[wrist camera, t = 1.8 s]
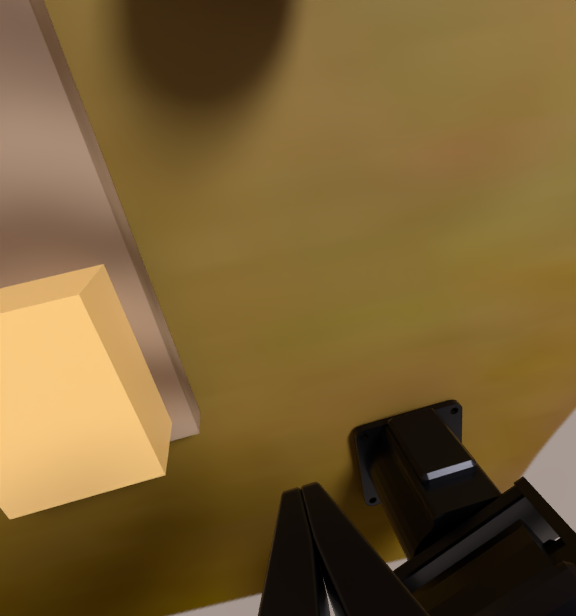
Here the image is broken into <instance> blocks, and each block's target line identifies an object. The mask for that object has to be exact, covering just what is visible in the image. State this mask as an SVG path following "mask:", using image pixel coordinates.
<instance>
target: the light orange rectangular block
mask: <svg viewBox="0 0 576 616" xmlns="http://www.w3.org/2000/svg"><path fill="white" fill-rule="evenodd" d="M171 429H172V422H171V419H170V417H169V415H168V412H167V410H166V408H165V405H164V403H163V401H162V399H161V396H160V394H159V392H158V389H157V387H156V385H155V382H154V380H153V378H152V375H151V373H150V371H149V368H148V366H147V364H146V361H145V359H144V357H143V354H142V352H141V350H140V347H139V345H138V343H137V340H136V338H135V336H134V333H133V331H132V329H131V327H130V324H129V322H128V320H127V317H126V315H125V313H124V310H123V308H122V306H121V303H120V301H119V299H118V296H117V294H116V292H115V289H114V287H113V285H112V282H111V280H110V278H109V275H108V273H107V271H106V268H105V266H104V264H102V265H98V266H93V267H89V268H85V269H81V270H76V271H72V272H68V273H64V274H59V275H55V276H51V277H47V278H42V279H38V280H34V281H30V282H26V283H21V284H17V285H13V286H9V287H4V288H0V508H1V509H2V510H3V512H4V513H5V514H6V515H7V516H8V518H9V519H13V518H17V517H20V516H24V515H27V514H31V513H34V512H38V511H41V510H45V509H48V508H52V507H55V506H59V505H62V504H66V503H69V502H73V501H76V500H80V499H83V498H87V497H90V496H94V495H97V494H101V493H104V492H108V491H111V490H115V489H118V488H122V487H125V486H129V485H132V484H136V483H139V482H143V481H146V480H150V479H153V478H157V477H160V476H164V475H166V467H167V460H168V452H169V444H170V437H171Z"/></svg>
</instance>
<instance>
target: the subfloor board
mask: <svg viewBox="0 0 576 616" xmlns="http://www.w3.org/2000/svg"><path fill="white" fill-rule="evenodd" d="M102 264H104V266H105V268H106V271H107V273H108V275H109V278H110V280H111V282H112V285H113V287H114V289H115V292H116V294H117V296H118V299H119V301H120V303H121V306H122V308H123V310H124V313H125V315H126V317H127V320H128V322H129V324H130V327H131V329H132V331H133V333H134V336H135V338H136V340H137V343H138V345H139V347H140V350H141V352H142V354H143V357H144V359H145V361H146V364H147V366H148V368H149V371H150V373H151V375H152V378H153V380H154V382H155V385H156V387H157V389H158V392H159V394H160V396H161V399H162V401H163V403H164V405H165V408H166V410H167V412H168V415H169V417H170V419H171V422H172V429H171V437H170V441H173V440H177V439H181V438H184V437H188V436H191V435H195V434H199V433H200V411H199V408H198V405H197V403H196V400H195V398H194V395H193V392H192V390H191V387H190V384H189V382H188V379H187V377H186V374H185V371H184V369H183V366H182V363H181V361H180V358H179V356H178V353H177V350H176V348H175V345H174V342H173V340H172V337H171V335H170V332H169V329H168V327H167V324H166V321H165V319H164V316H163V314H162V311H161V308H160V306H159V303H158V300H157V298H156V295H155V293H154V290H153V287H152V285H151V282H150V279H149V277H148V274H147V271H146V269H145V266H144V264H143V261H142V258H141V256H140V253H139V250H138V248H137V245H136V243H135V240H134V237H133V235H132V232H131V229H130V227H129V224H128V222H127V219H126V216H125V214H124V211H123V208H122V206H121V203H120V201H119V198H118V195H117V193H116V190H115V187H114V185H113V182H112V180H111V177H110V174H109V172H108V169H107V166H106V164H105V161H104V159H103V156H102V153H101V151H100V148H99V145H98V143H97V140H96V138H95V135H94V132H93V130H92V127H91V124H90V122H89V119H88V117H87V114H86V111H85V109H84V106H83V103H82V101H81V98H80V95H79V93H78V90H77V88H76V85H75V82H74V80H73V77H72V74H71V72H70V69H69V67H68V64H67V61H66V59H65V56H64V53H63V51H62V48H61V46H60V43H59V40H58V38H57V35H56V32H55V30H54V27H53V25H52V22H51V19H50V17H49V14H48V11H47V9H46V6H45V4H44V1H43V0H0V288H4V287H9V286H13V285H17V284H21V283H26V282H30V281H34V280H38V279H42V278H47V277H51V276H55V275H59V274H64V273H68V272H72V271H76V270H81V269H85V268H89V267H93V266H98V265H102Z"/></svg>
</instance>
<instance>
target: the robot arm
mask: <svg viewBox="0 0 576 616" xmlns="http://www.w3.org/2000/svg"><path fill="white" fill-rule="evenodd" d="M452 408H453V409H452ZM362 434H364V435H362ZM354 440H355V446H356V453H357V460H358V466H359V473H360V480H361V486H362V493H363V498H364V500H365V503H366V505H368V506H374V505H377V504H380V503H381V504H382V506H383V508H384V510H385V512H386V515H387V517H388V519H389V521H390V523H391V525H392V528H393V530H394V532H395V534H396V536H397V538H398V541H399V543H400V545H401V547H402V549H403V551H404V554H405V556H406V558H407V560H408V561H407V562H405V563H404V564H402V565H401V566H400V567H398V568H397V569H395V570H394V571H392V570H391V569H390V568H389V566H388V565H387V564H386V563H385V562H384V560H383V559H382V558H381V557H380V556H379V554H378V553H377V552H376V551H375V550H374V548H373V547H372V546H371V545H370V544H369V542H368V541H367V540H366V539H365V538H364V536H363V535H362V534H361V533H360V532H359V530H358V529H357V528H356V527H355V526H354V524H353V523H352V522H351V521H350V520H349V518H348V517H347V516H346V515H345V514H344V512H343V511H342V510H341V509H340V508H339V506H338V505H337V504H336V503H335V502H334V500H333V499H332V498H331V497H330V496H329V494H328V493H327V492H326V491H325V490H324V488H323V487H322V486H321V485H320V484H319V483H318V482H313V483H310V484H306V485H303V486H302V487H301V490H300V488H297V487H296V488H293V489H290V490H286V491H284V492H283V493H282V495H281V500H280V505H279V510H278V515H277V520H276V525H275V531H274V536H273V541H272V546H271V551H270V556H269V561H268V567H267V572H266V577H265V582H264V587H263V592H262V597H261V603H260V608H259V613H258V616H330V611H329V604H328V599H327V593H328V596H329V599H330V602H331V605H332V608H333V611H334V613H335V616H576V533H575V532H574V531H573V530H572V529H571V528H570V527H569V525H568V524H567V523H566V522H565V521H564V520H563V519H562V518H561V517H560V516H559V515H558V514H557V512H556V511H555V510H554V509H553V508H552V507H551V506H550V505H549V504H548V503H547V502H546V501H545V500H544V498H542V496H541V495H540V494H539V493H538V492H537V491H536V490H535V489H534V488H533V486H532V485H531V484H530V483H529V482H528V481H527V480H526V479H525V478H524V477H521V478H520V479H519V480H517V481H516V482H514V484H515V485H514V486H513V487H511V488H510V489H509V490H507V491H506V492H504V493H503V494H502V493H501V492H500V491H499V489H498V488H497V487H496V486H495V484H494V483H493V482H492V481H491V479H490V478H489V477H488V476H487V475H486V473H485V472H484V471H483V470H482V468H481V467H480V466H479V465H478V463H477V462H476V461H475V459H474V458H473V457H472V455H471V454H470V453H469V452H468V450H467V449H466V448H465V447H464V445H463V444H462V406H461V405H460V404H459V403H458V402H457V401H456V400H449V401H445V402H442V403H438V404H435V405H431V406H428V407H424V408H421V409H417V410H414V411H410V412H407V413H403V414H400V415H396V416H393V417H389V418H386V419H383V420H379V421H376V422H372V423H369V424H365V425H362V426H359V427H357V428H356V429H355V431H354ZM308 520H309V521H308ZM309 524H310V525H309ZM310 528H311V529H310ZM558 537H560V539H558V540H557V541H555V539H556V538H558ZM319 563H320V564H319ZM320 567H321V568H320ZM321 571H322V572H321ZM322 575H323V576H322ZM323 579H324V580H323ZM324 583H325V584H324ZM325 586H326V589H325ZM326 590H327V593H326Z"/></svg>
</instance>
